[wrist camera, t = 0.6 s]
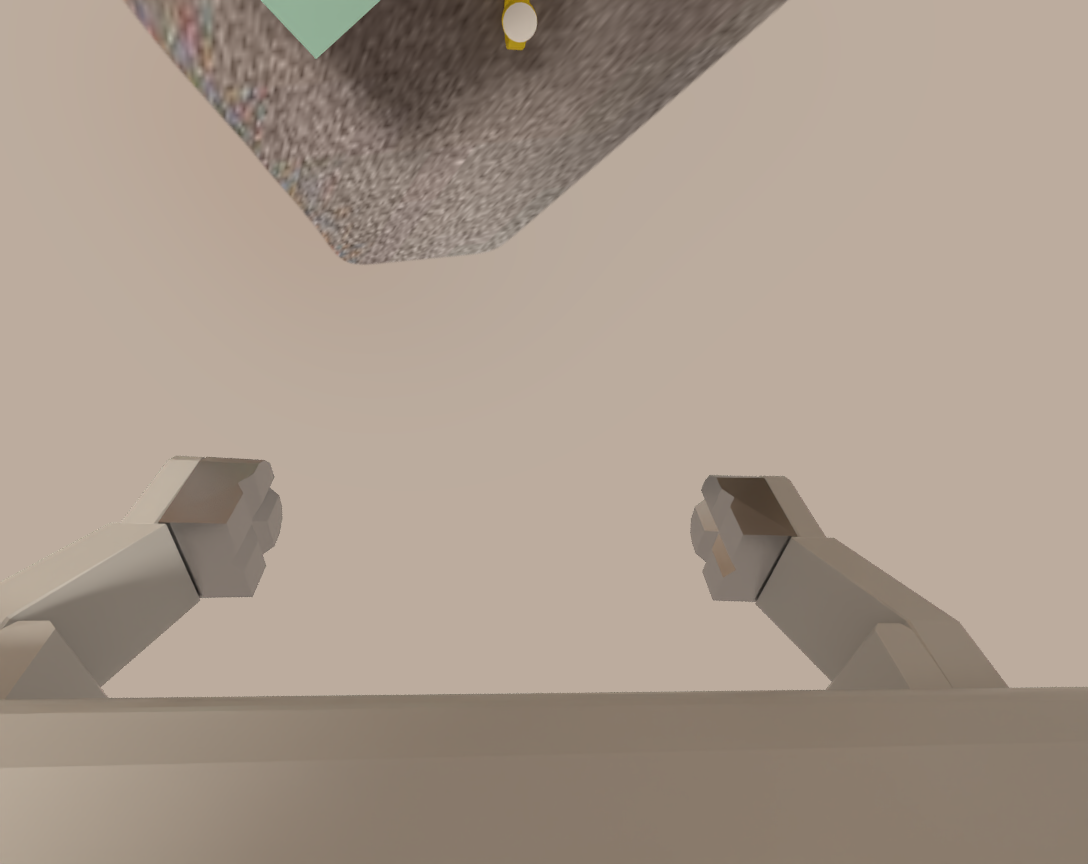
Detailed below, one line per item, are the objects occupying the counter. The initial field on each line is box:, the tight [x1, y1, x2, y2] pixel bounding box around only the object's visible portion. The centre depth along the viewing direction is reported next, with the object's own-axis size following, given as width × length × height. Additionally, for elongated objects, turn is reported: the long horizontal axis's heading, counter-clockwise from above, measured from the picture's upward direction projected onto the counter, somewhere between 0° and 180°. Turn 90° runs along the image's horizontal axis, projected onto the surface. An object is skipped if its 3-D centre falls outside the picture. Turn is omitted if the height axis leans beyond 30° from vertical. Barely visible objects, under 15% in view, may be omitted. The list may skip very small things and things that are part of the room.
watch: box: [502, 0, 537, 50], centre depth 44 cm, size 6×3×6 cm, turn 173°
